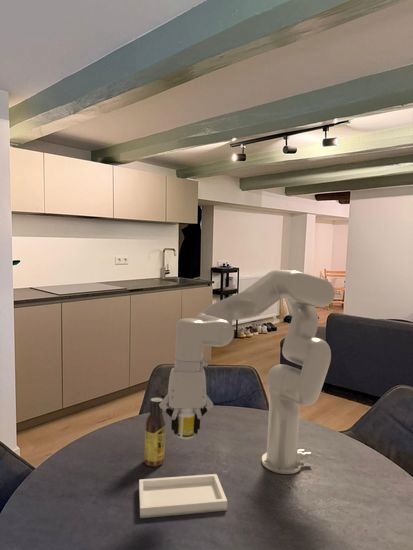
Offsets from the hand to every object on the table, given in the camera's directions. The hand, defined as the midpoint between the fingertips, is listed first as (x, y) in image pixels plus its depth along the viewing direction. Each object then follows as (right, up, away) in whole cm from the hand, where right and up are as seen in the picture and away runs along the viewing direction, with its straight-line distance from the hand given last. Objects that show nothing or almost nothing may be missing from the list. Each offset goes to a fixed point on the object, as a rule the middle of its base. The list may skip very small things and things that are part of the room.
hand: (185, 431), depth 103 cm
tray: (-1, -18, -1) cm, 18 cm away
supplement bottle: (0, -1, 0) cm, 1 cm away
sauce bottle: (-11, -17, +17) cm, 26 cm away
